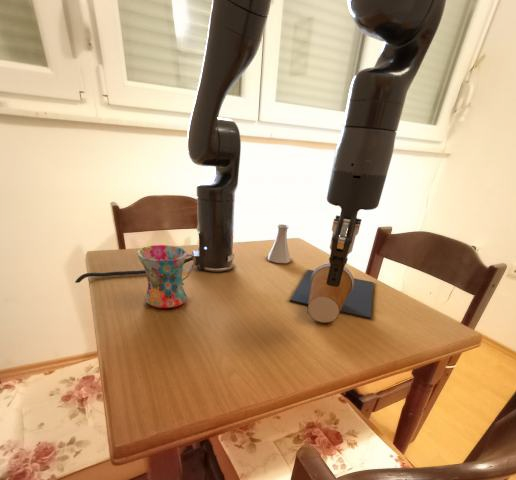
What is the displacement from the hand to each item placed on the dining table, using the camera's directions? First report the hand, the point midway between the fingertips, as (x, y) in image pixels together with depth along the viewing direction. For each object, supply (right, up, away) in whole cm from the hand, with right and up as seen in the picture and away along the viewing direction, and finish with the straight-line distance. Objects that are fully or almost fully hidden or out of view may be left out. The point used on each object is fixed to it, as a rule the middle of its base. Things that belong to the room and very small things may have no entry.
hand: (332, 284), depth 53 cm
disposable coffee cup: (0, -4, +9) cm, 9 cm away
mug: (-31, -1, +14) cm, 34 cm away
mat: (+7, +3, +25) cm, 26 cm away
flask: (-7, +15, +42) cm, 45 cm away
